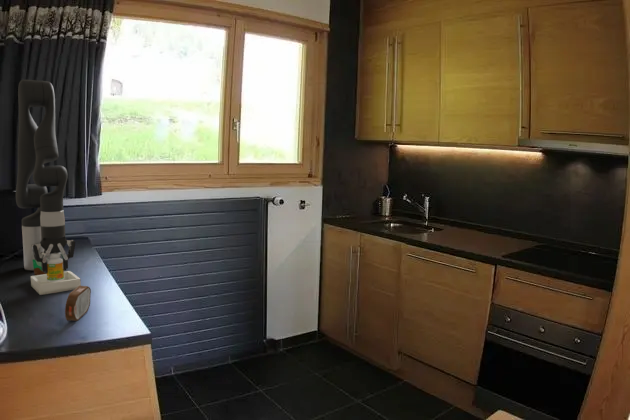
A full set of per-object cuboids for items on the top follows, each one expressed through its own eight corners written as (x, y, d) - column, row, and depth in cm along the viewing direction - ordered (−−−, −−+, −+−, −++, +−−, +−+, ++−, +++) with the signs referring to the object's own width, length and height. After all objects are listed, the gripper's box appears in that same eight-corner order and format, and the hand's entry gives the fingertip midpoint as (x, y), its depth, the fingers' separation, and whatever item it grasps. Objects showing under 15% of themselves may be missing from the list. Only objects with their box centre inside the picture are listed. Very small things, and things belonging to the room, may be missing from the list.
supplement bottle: (47, 283, 184) (45, 255, 182) (46, 279, 188) (45, 252, 187) (64, 281, 186) (63, 253, 185) (63, 277, 191) (62, 250, 189)
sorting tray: (31, 285, 189) (30, 276, 188) (70, 280, 197) (69, 270, 196) (39, 295, 179) (39, 284, 178) (80, 288, 187) (80, 278, 186)
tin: (82, 308, 167) (81, 281, 166) (93, 308, 167) (92, 281, 166) (64, 325, 152) (63, 296, 151) (75, 325, 152) (74, 296, 151)
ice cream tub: (47, 282, 194) (45, 255, 192) (32, 280, 195) (30, 253, 194) (69, 273, 206) (68, 247, 204) (54, 272, 207) (53, 246, 206)
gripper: (71, 220, 192) (73, 266, 194) (27, 223, 183) (29, 272, 185) (78, 223, 186) (79, 270, 189) (32, 227, 177) (34, 277, 180)
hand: (55, 271), depth 187 cm, fingers open, 5 cm apart
